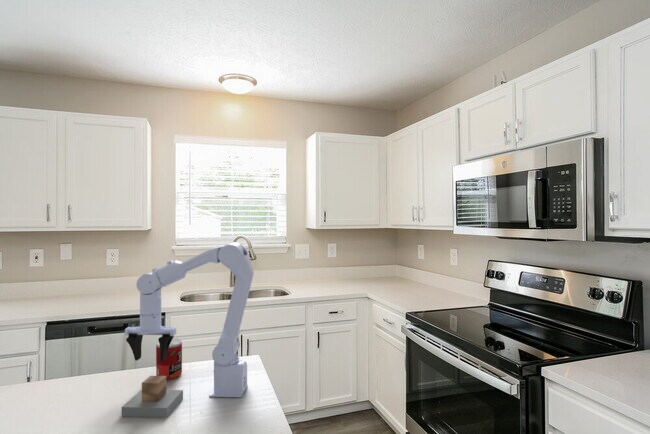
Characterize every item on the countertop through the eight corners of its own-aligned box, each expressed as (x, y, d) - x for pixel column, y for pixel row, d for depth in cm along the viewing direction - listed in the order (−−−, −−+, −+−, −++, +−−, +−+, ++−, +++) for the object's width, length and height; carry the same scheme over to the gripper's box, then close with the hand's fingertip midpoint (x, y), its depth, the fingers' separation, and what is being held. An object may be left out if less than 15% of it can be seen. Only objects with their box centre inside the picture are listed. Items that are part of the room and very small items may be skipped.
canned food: (173, 381, 117) (173, 347, 117) (150, 379, 118) (150, 345, 118) (186, 372, 124) (186, 339, 124) (165, 370, 126) (165, 337, 126)
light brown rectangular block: (166, 393, 104) (166, 376, 104) (158, 401, 99) (158, 383, 99) (150, 393, 104) (150, 375, 104) (141, 401, 99) (141, 382, 99)
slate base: (183, 398, 106) (183, 389, 106) (166, 417, 96) (166, 407, 96) (141, 397, 106) (141, 389, 106) (121, 416, 96) (121, 407, 96)
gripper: (118, 316, 106) (118, 364, 106) (168, 317, 105) (168, 365, 105) (132, 310, 113) (132, 355, 113) (179, 310, 112) (179, 355, 112)
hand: (150, 359), depth 109 cm, fingers open, 7 cm apart
